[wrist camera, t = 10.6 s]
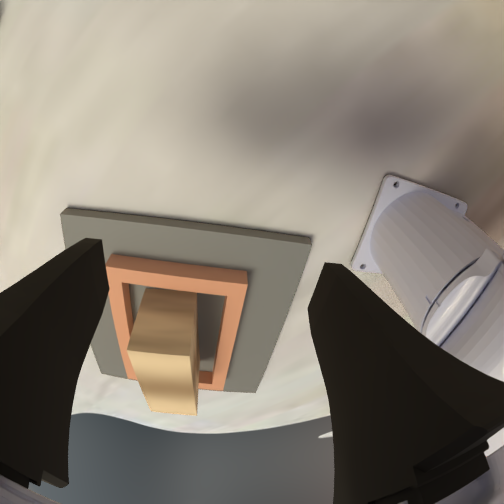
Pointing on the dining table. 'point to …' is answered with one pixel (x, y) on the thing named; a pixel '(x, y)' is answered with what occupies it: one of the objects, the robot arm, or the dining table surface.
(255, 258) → the socket plate
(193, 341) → the oak block
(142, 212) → the dining table surface
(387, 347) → the robot arm
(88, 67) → the dining table surface
